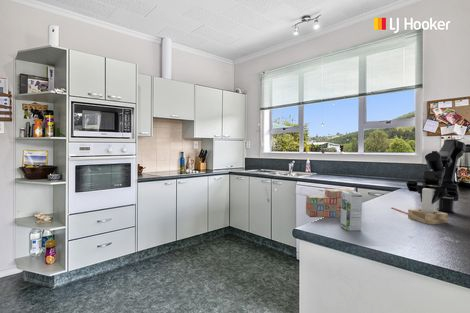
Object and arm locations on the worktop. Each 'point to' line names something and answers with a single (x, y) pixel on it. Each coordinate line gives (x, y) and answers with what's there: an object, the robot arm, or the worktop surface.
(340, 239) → the worktop surface
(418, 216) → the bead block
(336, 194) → the stack of blocks
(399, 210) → the red square stick
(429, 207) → the white rectangular block
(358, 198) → the syrup box
